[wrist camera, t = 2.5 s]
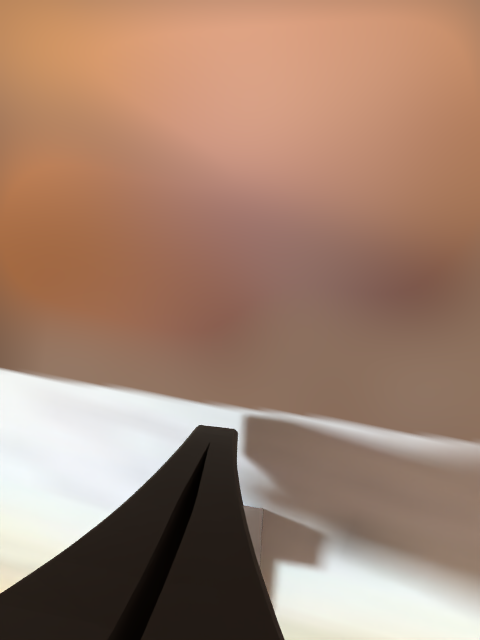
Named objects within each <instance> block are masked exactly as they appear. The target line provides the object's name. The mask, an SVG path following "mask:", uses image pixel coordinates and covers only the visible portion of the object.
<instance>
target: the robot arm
mask: <svg viewBox="0 0 480 640" xmlns="http://www.w3.org/2000/svg"><path fill="white" fill-rule="evenodd" d="M237 442H238V432H237V431H236V430H235V429H229V428H221V427H212V426H204V425H199V426H198V427H196V428H195V430H194V431H193V432H192V433H191V435H190V436H189V437H188V438H187V439H186V440H185V442H184V443H183V444H182V445H181V446H180V447H179V449H178V450H177V451H176V452H175V453H174V454H173V455H172V456H171V457H170V458H169V459H168V461H167V462H166V463H165V464H164V465H163V466H162V467H161V468H160V469H159V470H158V471H157V472H156V473H155V474H154V475H153V476H152V477H151V478H150V479H149V480H148V481H147V482H146V483H145V484H144V485H143V486H142V487H141V488H140V489H139V490H138V491H136V492H135V493H134V494H133V495H132V496H131V497H130V498H129V499H128V500H127V501H126V502H124V503H123V504H122V505H121V506H120V507H119V508H118V509H116V510H115V511H114V512H113V513H112V514H110V515H109V516H108V517H107V518H106V519H104V520H103V521H102V522H101V523H100V524H98V525H97V526H96V527H94V528H93V529H92V530H90V531H89V532H88V533H87V534H85V535H84V536H83V537H81V538H80V539H79V540H78V541H76V542H75V543H74V544H72V545H71V546H70V547H68V548H67V549H65V550H64V551H63V552H61V553H60V554H59V555H57V556H56V557H54V558H53V559H51V560H50V561H48V562H47V563H45V564H44V565H42V566H41V567H40V568H38V569H37V570H35V571H34V572H32V573H31V574H29V575H28V576H26V577H25V578H23V579H22V580H20V581H19V582H17V583H16V584H14V585H13V586H11V587H10V588H8V589H7V590H5V591H4V592H2V593H0V640H284V637H283V634H282V632H281V629H280V626H279V624H278V621H277V618H276V615H275V612H274V609H273V606H272V603H271V601H270V598H269V595H268V592H267V589H266V586H265V583H264V580H263V577H262V574H261V571H260V568H259V564H258V561H257V558H256V554H255V551H254V547H253V544H252V540H251V536H250V532H249V528H248V524H247V520H246V516H245V511H244V507H243V502H242V497H241V491H240V485H239V478H238V471H237Z"/></svg>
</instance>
